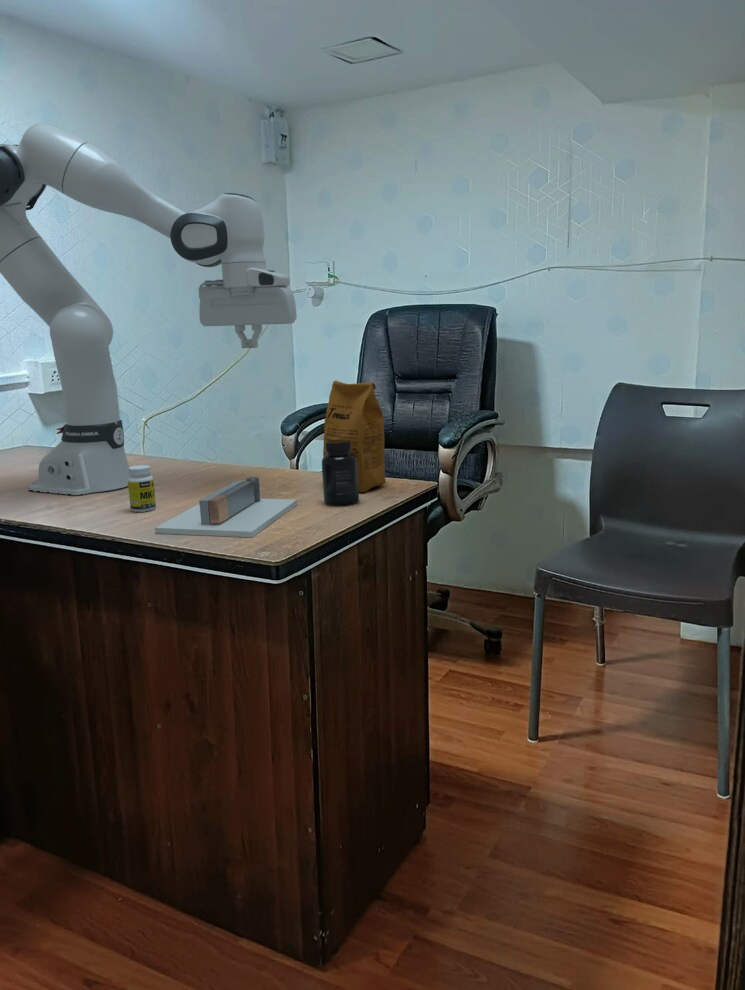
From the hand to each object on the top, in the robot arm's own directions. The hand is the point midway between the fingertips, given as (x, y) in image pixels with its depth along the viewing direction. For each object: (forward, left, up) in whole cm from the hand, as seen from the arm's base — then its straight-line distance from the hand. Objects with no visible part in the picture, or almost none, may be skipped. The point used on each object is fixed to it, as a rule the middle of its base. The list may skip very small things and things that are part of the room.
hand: (249, 348), depth 165 cm
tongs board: (+5, -26, -29) cm, 39 cm away
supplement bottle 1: (-15, -22, -29) cm, 40 cm away
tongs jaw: (+6, -26, -28) cm, 39 cm away
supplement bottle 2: (+22, -12, -29) cm, 39 cm away
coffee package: (+21, +1, -29) cm, 36 cm away
